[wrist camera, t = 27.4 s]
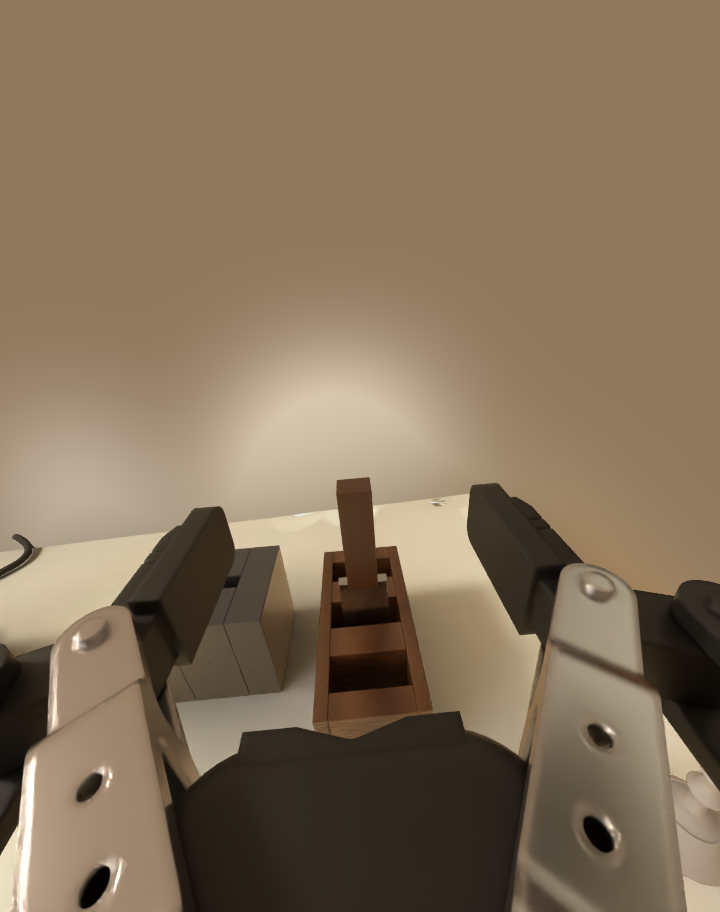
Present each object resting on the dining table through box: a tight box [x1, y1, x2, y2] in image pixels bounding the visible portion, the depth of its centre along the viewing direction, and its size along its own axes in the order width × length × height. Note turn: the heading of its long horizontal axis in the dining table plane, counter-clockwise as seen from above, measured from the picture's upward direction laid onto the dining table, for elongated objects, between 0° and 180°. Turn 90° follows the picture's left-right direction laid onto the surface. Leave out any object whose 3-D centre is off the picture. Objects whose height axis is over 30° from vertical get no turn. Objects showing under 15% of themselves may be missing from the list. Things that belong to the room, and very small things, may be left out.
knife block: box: [168, 545, 294, 702], centre depth 32 cm, size 11×9×10 cm
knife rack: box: [313, 546, 433, 739], centre depth 30 cm, size 8×16×8 cm, turn 3°
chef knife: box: [336, 477, 390, 627], centre depth 27 cm, size 4×2×21 cm, turn 93°
